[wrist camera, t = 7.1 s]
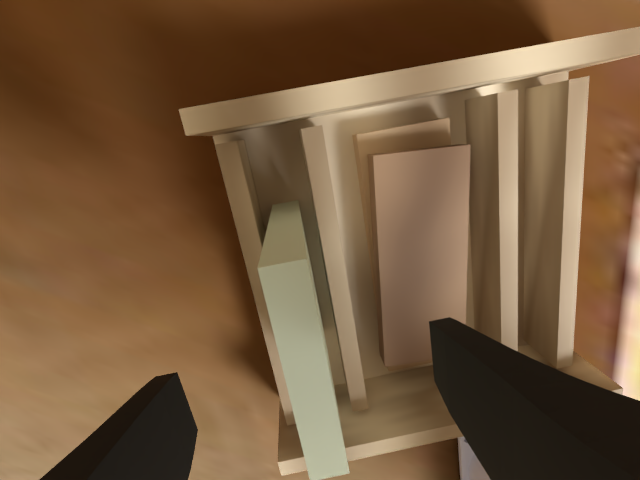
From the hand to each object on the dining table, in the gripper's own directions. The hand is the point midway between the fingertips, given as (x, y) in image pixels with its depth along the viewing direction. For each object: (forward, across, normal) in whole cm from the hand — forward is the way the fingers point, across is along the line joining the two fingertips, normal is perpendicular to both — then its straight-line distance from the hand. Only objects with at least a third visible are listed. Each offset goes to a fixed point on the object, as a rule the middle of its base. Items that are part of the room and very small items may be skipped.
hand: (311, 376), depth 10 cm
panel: (+8, 0, 0) cm, 8 cm away
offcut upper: (+7, -5, 0) cm, 9 cm away
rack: (+8, -5, 0) cm, 10 cm away
